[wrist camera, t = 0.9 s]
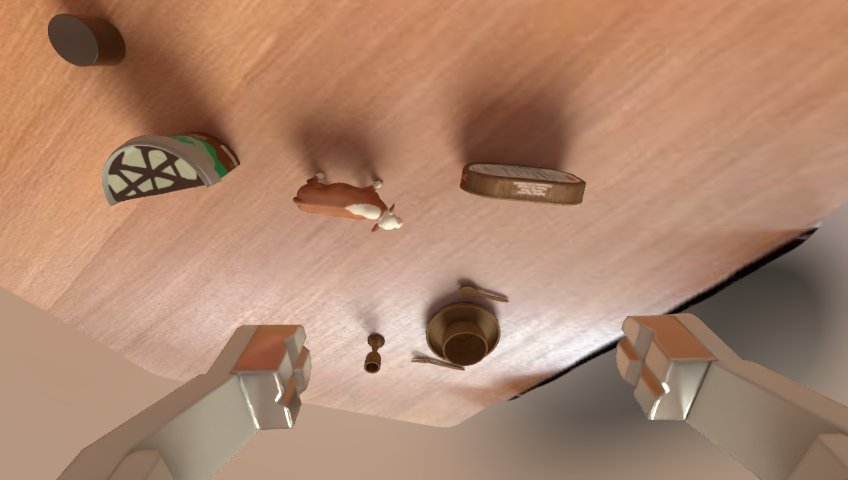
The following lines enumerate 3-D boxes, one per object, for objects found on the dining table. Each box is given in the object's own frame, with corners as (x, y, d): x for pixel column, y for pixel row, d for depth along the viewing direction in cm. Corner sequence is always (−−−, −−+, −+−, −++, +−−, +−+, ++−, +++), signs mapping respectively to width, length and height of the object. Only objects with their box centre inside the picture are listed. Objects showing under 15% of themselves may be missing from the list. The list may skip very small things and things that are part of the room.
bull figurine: (402, 214, 51) (399, 241, 44) (305, 194, 50) (285, 218, 43) (409, 185, 50) (407, 208, 42) (308, 163, 48) (288, 182, 41)
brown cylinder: (72, 17, 41) (38, 14, 37) (115, 16, 41) (86, 13, 37) (90, 65, 43) (60, 66, 39) (132, 65, 43) (105, 66, 39)
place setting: (474, 374, 65) (479, 402, 60) (365, 347, 62) (359, 374, 57) (517, 297, 58) (527, 322, 53) (395, 262, 55) (392, 284, 50)
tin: (456, 178, 49) (462, 201, 42) (459, 155, 48) (466, 174, 40) (566, 189, 50) (592, 213, 42) (573, 166, 48) (601, 187, 41)
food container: (231, 113, 45) (184, 127, 36) (251, 162, 48) (212, 186, 39) (138, 132, 46) (71, 151, 37) (163, 179, 49) (105, 207, 40)
